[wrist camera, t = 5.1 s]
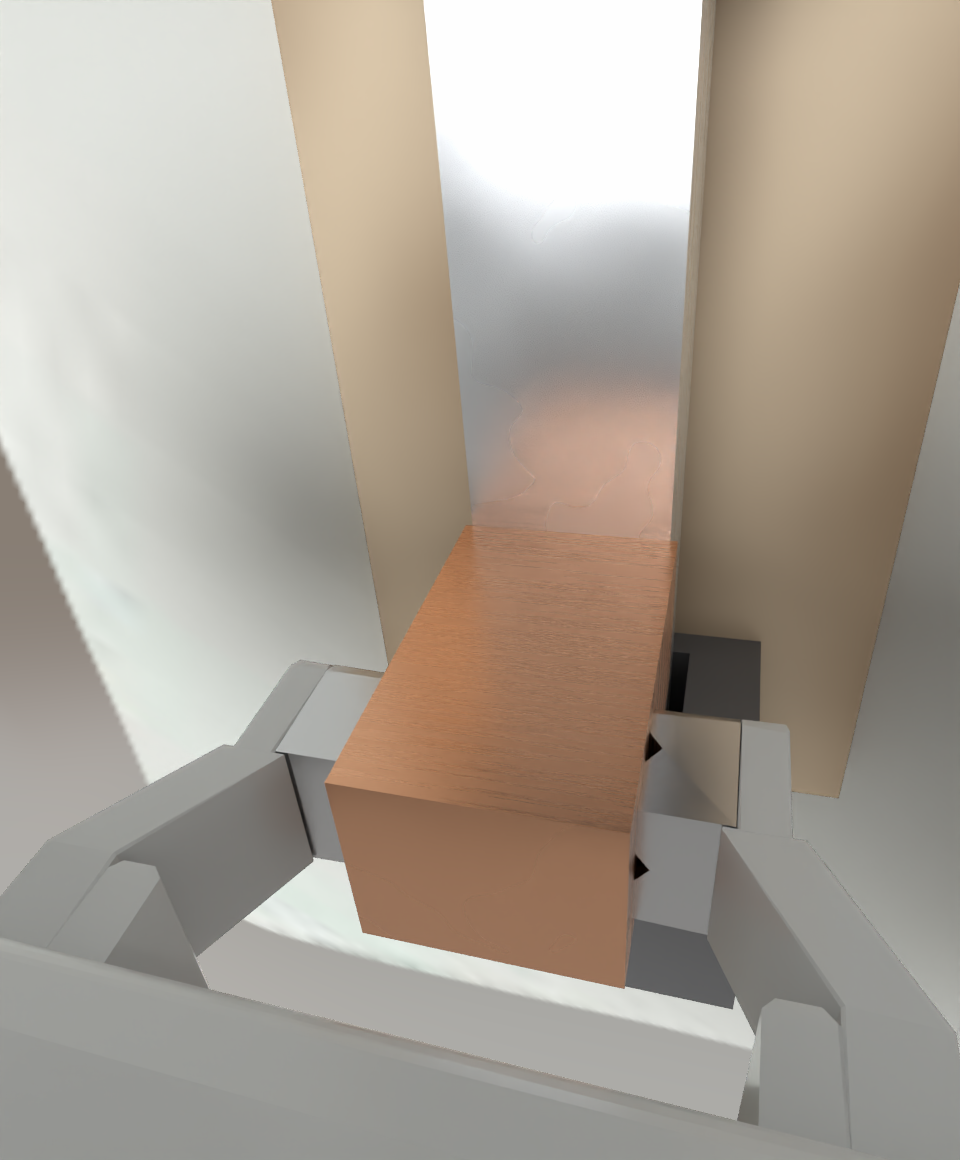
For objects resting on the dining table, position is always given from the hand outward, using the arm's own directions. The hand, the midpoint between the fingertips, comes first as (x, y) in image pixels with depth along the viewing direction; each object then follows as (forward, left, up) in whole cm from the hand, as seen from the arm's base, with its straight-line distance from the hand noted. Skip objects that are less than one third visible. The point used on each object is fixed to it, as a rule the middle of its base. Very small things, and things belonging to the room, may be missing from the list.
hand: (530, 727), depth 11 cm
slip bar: (0, -3, -5) cm, 6 cm away
